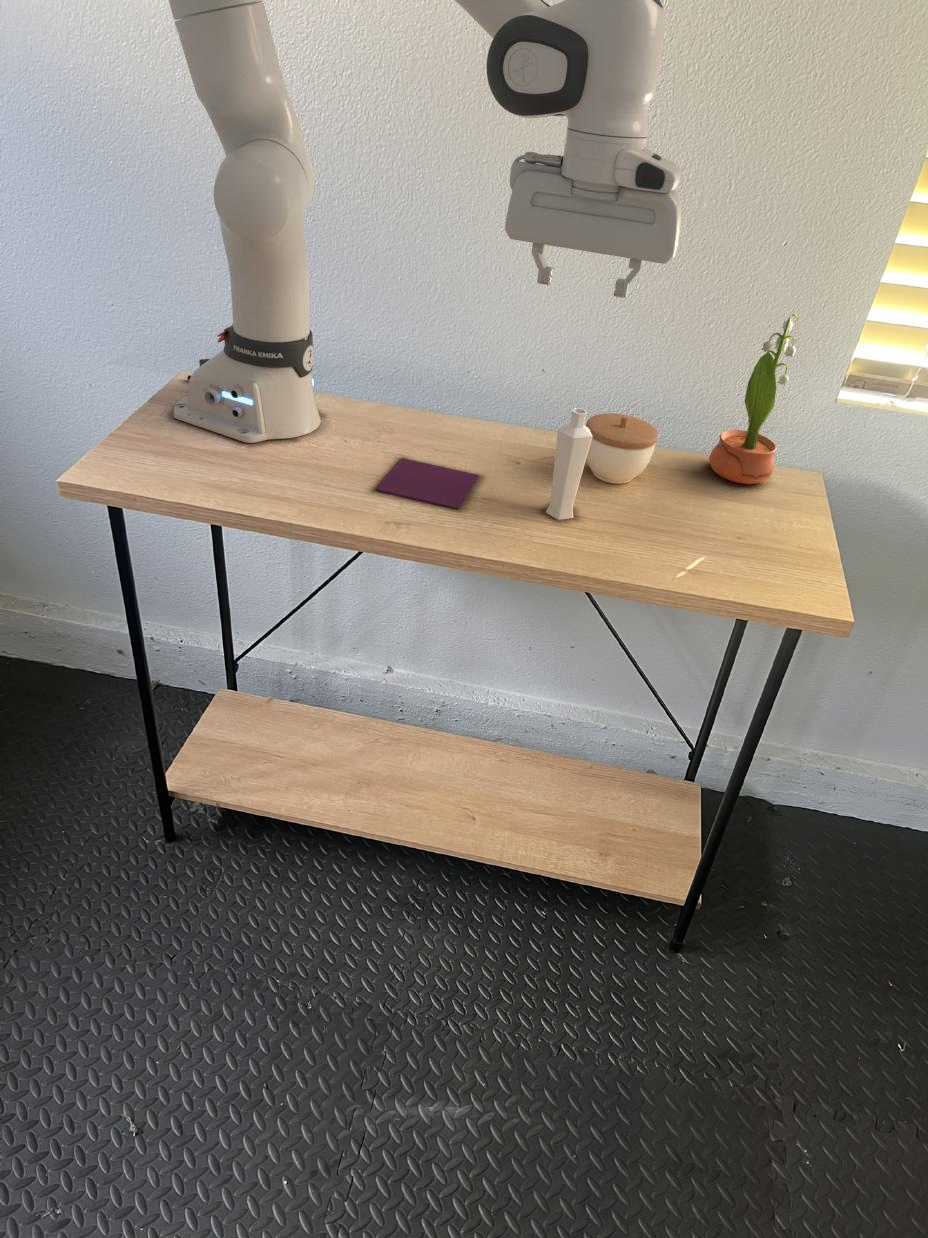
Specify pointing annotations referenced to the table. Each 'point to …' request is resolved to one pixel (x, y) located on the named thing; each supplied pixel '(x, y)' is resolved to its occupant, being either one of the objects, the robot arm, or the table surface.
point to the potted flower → (754, 421)
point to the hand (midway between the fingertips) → (581, 289)
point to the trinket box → (619, 446)
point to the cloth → (428, 483)
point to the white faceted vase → (569, 464)
